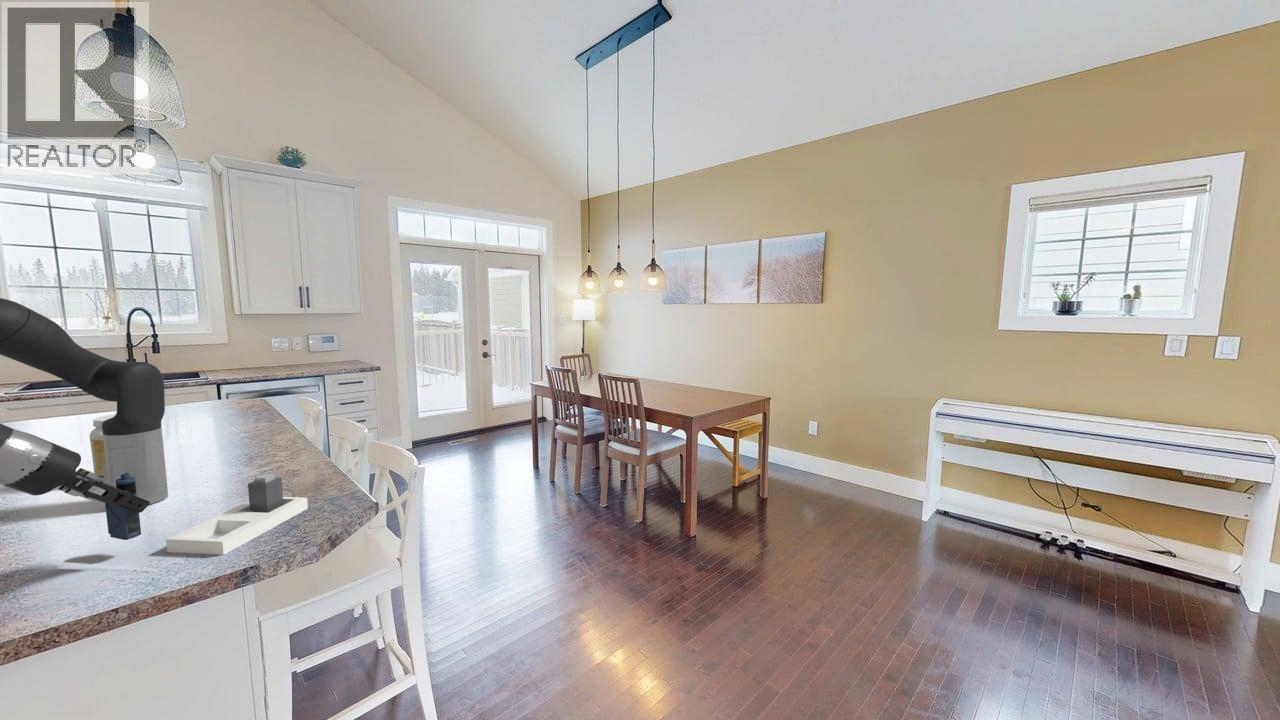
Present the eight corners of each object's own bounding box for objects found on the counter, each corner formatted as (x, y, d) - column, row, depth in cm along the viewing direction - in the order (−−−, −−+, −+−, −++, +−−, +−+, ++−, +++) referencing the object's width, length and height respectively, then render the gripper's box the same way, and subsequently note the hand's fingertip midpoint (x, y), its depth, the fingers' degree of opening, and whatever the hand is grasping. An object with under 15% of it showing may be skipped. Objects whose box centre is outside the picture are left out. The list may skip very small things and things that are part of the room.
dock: (224, 559, 84) (222, 541, 84) (167, 557, 85) (165, 539, 85) (308, 512, 104) (307, 497, 104) (261, 510, 105) (260, 495, 105)
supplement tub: (154, 466, 132) (148, 409, 130) (169, 475, 126) (163, 414, 124) (89, 479, 121) (81, 417, 120) (101, 489, 115) (94, 423, 114)
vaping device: (127, 541, 82) (120, 477, 81) (105, 537, 83) (98, 473, 82) (145, 534, 85) (139, 472, 83) (123, 530, 86) (117, 468, 84)
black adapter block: (250, 519, 98) (247, 479, 97) (266, 511, 102) (263, 472, 101) (268, 520, 98) (265, 479, 97) (284, 512, 102) (281, 473, 101)
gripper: (-20, 474, 73) (99, 514, 86) (16, 493, 68) (138, 533, 80) (30, 433, 77) (136, 477, 90) (67, 448, 72) (175, 493, 84)
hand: (136, 503), depth 85 cm, fingers closed on vaping device, 5 cm apart
